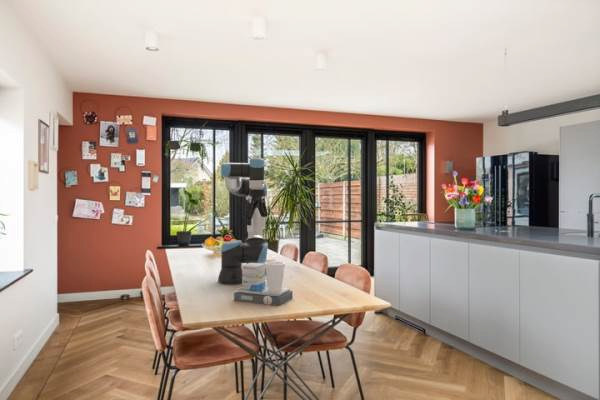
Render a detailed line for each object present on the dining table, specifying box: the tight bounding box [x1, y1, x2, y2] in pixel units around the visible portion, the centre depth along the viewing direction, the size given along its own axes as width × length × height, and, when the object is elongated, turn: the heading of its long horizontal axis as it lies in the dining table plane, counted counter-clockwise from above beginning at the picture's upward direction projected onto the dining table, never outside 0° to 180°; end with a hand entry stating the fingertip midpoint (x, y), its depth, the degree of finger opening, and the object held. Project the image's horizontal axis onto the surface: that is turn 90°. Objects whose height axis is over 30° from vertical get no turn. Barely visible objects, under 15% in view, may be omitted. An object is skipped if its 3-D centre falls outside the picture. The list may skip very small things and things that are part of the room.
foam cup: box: [265, 261, 286, 292], centre depth 199 cm, size 10×9×13 cm
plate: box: [236, 285, 291, 297], centre depth 201 cm, size 22×13×1 cm, turn 68°
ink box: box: [241, 263, 266, 290], centre depth 203 cm, size 8×8×12 cm
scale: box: [233, 290, 294, 307], centre depth 201 cm, size 24×15×4 cm, turn 68°
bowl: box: [246, 255, 276, 274], centre depth 269 cm, size 20×20×10 cm
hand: (256, 230), depth 212 cm, fingers open, 13 cm apart
